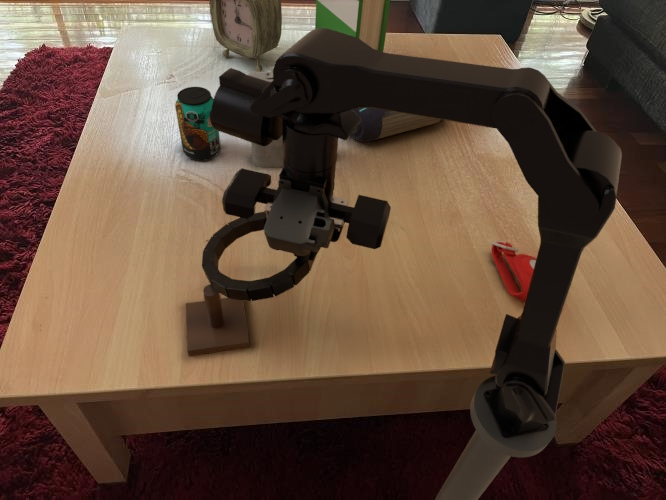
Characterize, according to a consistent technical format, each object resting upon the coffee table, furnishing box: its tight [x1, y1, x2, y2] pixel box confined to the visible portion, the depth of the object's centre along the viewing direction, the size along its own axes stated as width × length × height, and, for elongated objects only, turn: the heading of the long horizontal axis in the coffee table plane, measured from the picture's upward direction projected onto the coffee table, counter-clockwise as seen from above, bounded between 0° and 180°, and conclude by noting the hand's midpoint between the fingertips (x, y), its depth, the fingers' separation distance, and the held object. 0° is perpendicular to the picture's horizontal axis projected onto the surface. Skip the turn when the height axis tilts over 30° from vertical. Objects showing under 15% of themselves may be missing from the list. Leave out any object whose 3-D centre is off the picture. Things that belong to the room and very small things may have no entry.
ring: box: [201, 210, 317, 302], centre depth 69 cm, size 15×15×2 cm
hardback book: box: [314, 0, 391, 52], centre depth 115 cm, size 18×7×24 cm, turn 28°
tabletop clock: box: [209, 0, 283, 72], centre depth 117 cm, size 14×9×25 cm, turn 53°
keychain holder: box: [489, 240, 537, 304], centre depth 81 cm, size 12×4×10 cm
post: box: [185, 283, 250, 357], centre depth 70 cm, size 8×8×8 cm
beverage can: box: [174, 86, 221, 162], centre depth 96 cm, size 7×7×12 cm
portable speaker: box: [349, 108, 445, 143], centre depth 106 cm, size 25×10×10 cm, turn 118°
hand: (304, 256), depth 67 cm, fingers closed on ring, 2 cm apart
